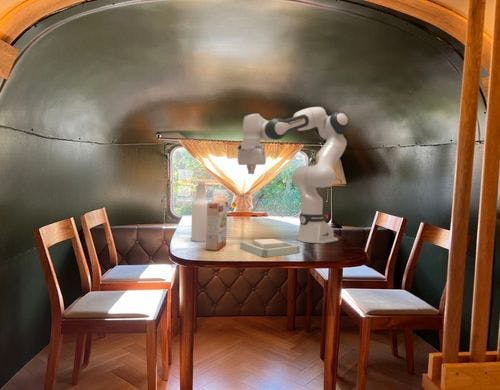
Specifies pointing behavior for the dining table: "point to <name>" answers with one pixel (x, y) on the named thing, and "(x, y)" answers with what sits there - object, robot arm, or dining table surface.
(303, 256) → the dining table surface
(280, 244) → the carton
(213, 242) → the cracker box
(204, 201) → the alcohol
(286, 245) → the u-shaped frame
